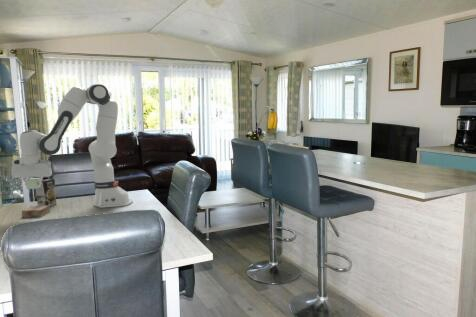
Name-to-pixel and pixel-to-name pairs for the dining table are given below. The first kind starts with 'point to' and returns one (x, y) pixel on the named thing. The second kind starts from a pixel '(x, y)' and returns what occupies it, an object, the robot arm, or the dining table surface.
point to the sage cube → (32, 183)
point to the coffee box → (46, 193)
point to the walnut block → (35, 211)
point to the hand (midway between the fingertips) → (33, 185)
